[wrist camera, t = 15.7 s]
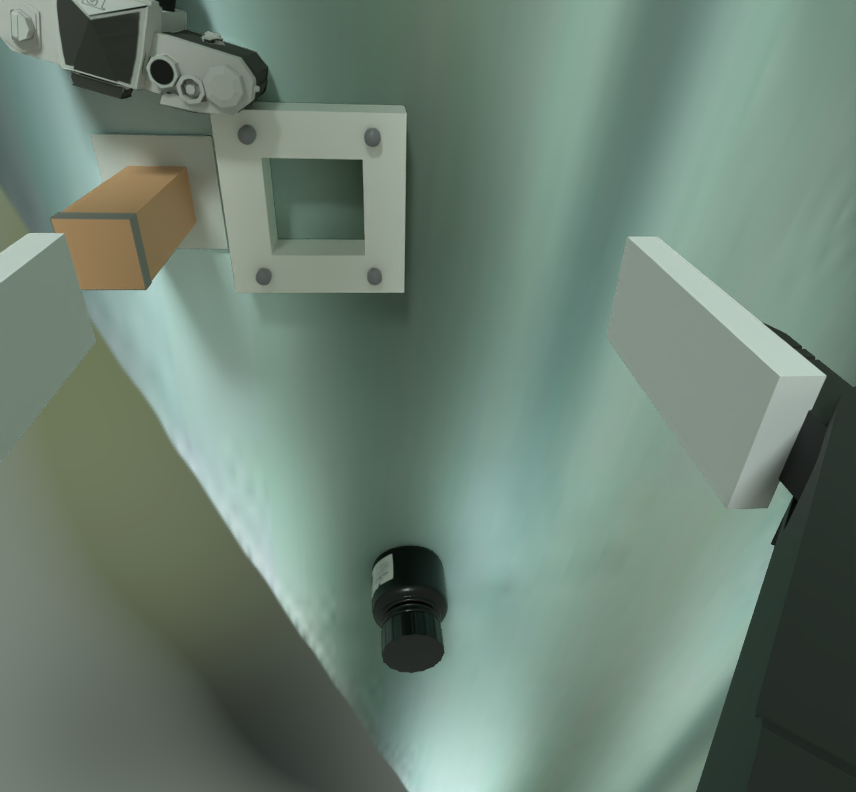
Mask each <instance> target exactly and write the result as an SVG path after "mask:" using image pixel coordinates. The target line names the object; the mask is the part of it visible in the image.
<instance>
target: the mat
mask: <svg viewBox="0 0 856 792" xmlns="http://www.w3.org/2000/svg"><path fill="white" fill-rule="evenodd" d="M90 135H91V139H92V143H93V147H94V151H95V155H96V159H97V163H98V167H99V171H100V176H101V180H102V183H104V182H105V181H107V180H108V179H109V178H111V177H112V176H114V175H115V174H117V173H118V172H119V171H121V170H122V169H124V168H125V167H127V166H175V167H187V173H188V178H189V184H190V190H191V196H192V202H193V207H194V213H195V219H196V224H195V225H194V226H193V228H192V229H191V230H190V232H189V233H188V234H187V235H186V237H185V238H184V239H183V241H182V242H181V243H180V245H179V246H178V247H177V249H228V240H227V234H226V227H225V220H224V213H223V206H222V199H221V193H220V186H219V179H218V172H217V165H216V159H215V152H214V145H213V138H212V136H195V135H143V134H90Z"/></svg>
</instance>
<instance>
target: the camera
mask: <svg viewBox="0 0 856 792" xmlns="http://www.w3.org/2000/svg"><path fill="white" fill-rule="evenodd" d="M175 4H176V0H0V37H1V38H2V39H3V40H4V42H5V43H6V44H7V46H8V47H9V48H10V49H11V50H13V51H16V52H19V53H22V54H25V55H29V56H32V57H35V58H39V59H42V60H46V61H49V62H52V63H56V64H59V65H61V68H63V69H68V70H73V71H72V80H73V83H74V84H72V85H75V86H78V87H82V88H85V89H89V90H92V91H95V92H99V93H102V94H106V95H109V96H113V97H116V98H120V99H124V98H128V97H131V96H132V95H131V93H132V91H133V89H136V90H142V89H144V90H148V91H151V92H155V93H159V94H163V95H162V96H161V98H160V101H159V104H160V105H165V106H169V107H173V108H177V109H182V110H186V111H190V112H195V113H208V114H221V113H226V114H230V115H234V114H235V113H239V112H240V111H241V110H243V109H244V108H246V107H247V106H249V105H250V104H251V103H253V102H254V101H256V100H257V97H259V96H260V95H261V94H263V93H264V92H265V91H266V87H267V81H268V79H267V75H268V66H267V65H266V64H265V62H264V61H263V59H262V58H261V57H260V55H259V54H258V52H257V51H254V50H251V49H248V48H245V47H241V46H238V45H235V44H232V43H229V42H226V41H223V38H222V37H221V35H220V34H217V33H214V32H210V31H206V33H205V32H204V34H201V33H198V32H194V31H191V30H188V29H187V12H186V11H183V10H180V9H177V8H175Z"/></svg>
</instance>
